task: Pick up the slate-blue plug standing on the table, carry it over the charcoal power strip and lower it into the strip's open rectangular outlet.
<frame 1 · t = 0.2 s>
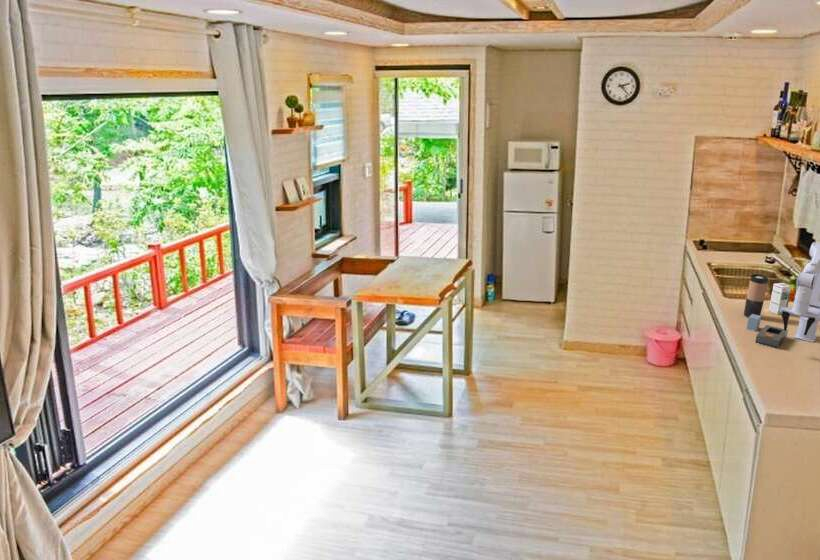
hand: (795, 332, 303), 10 cm above the worktop, tool pointing down, fingers open, 7 cm apart
syrup box: (776, 312, 360), on the worktop
travel mug: (751, 316, 352), on the worktop
plug: (752, 328, 335), on the worktop
power strip: (770, 340, 321), on the worktop
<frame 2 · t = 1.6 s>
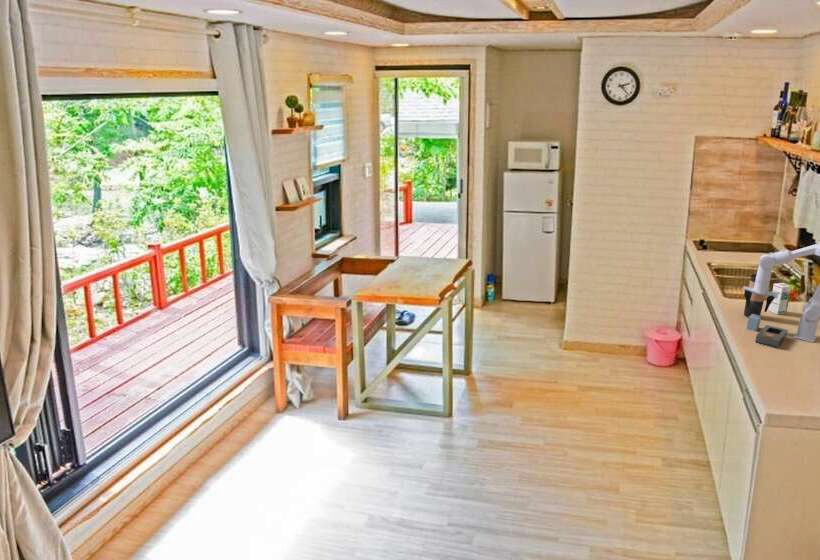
hand: (756, 309, 332), 9 cm above the worktop, tool pointing down, fingers open, 7 cm apart
nothing on the worktop moved.
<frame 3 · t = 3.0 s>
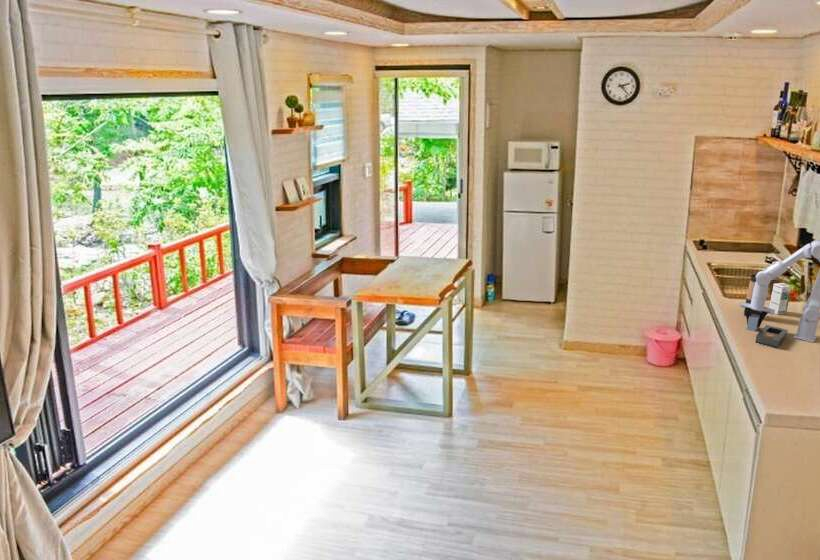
hand: (753, 325, 334), 2 cm above the worktop, tool pointing down, fingers closed on plug, 4 cm apart
plug: (752, 328, 335), on the worktop, touching gripper
everything else where it was.
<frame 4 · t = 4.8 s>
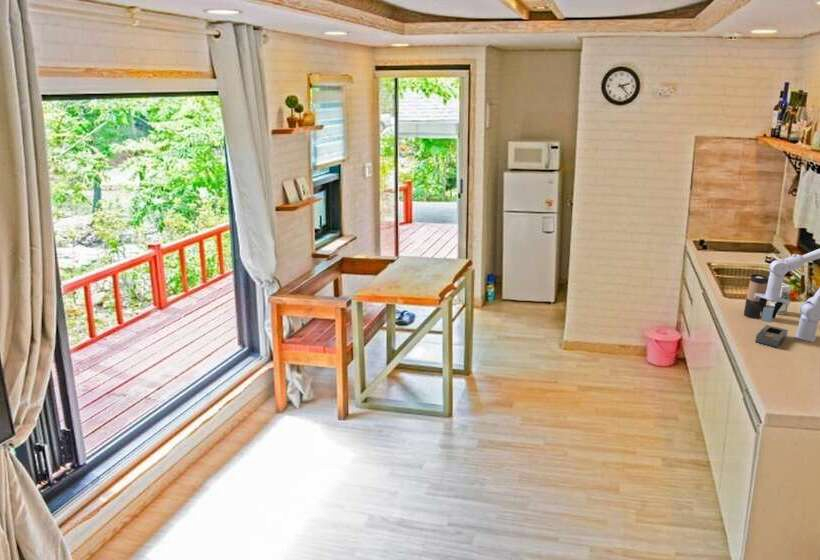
hand: (768, 316, 326), 9 cm above the worktop, tool pointing down, fingers closed on plug, 4 cm apart
plug: (767, 319, 326), point 7 cm above the worktop, touching gripper
everything else where it was.
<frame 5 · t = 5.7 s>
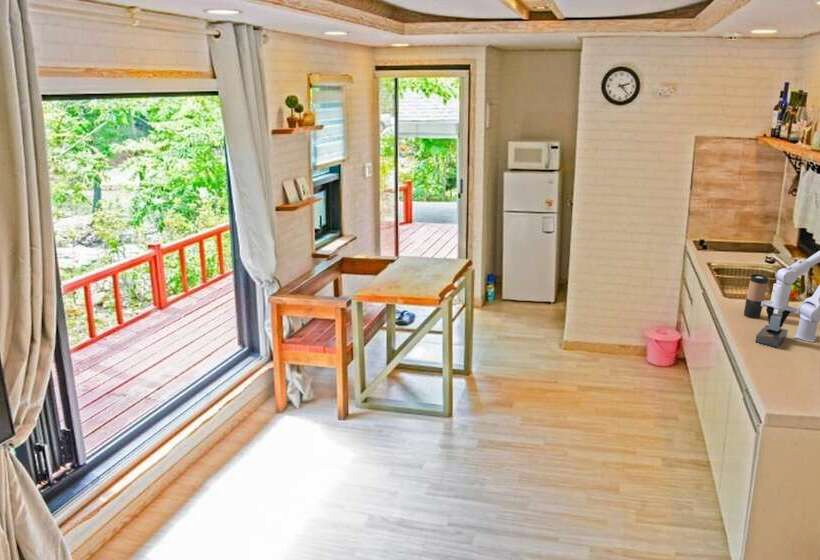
hand: (775, 325, 322), 6 cm above the worktop, tool pointing down, fingers closed on plug, 4 cm apart
plug: (774, 328, 322), point 5 cm above the worktop, touching gripper
everything else where it was.
when the fingers open (4 cm above the worktop, at t = 6.5 s): plug drops 2 cm, resting on power strip.
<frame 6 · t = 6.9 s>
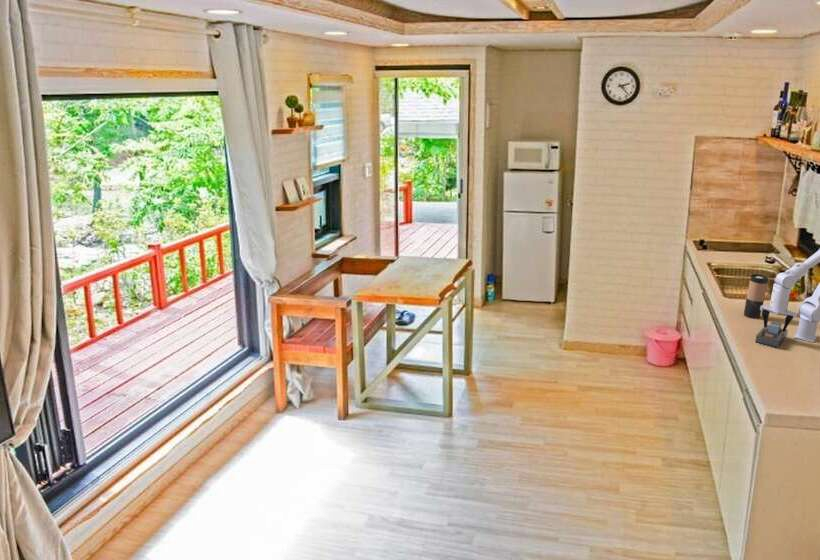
hand: (774, 329, 322), 4 cm above the worktop, tool pointing down, fingers open, 7 cm apart
plug: (772, 336, 323), point 1 cm above the worktop, touching power strip
everything else where it was.
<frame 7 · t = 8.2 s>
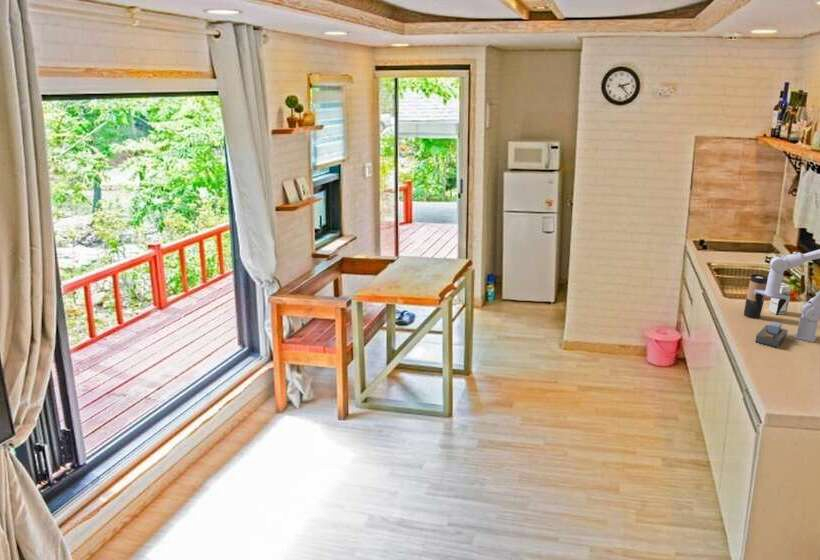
hand: (767, 312, 328), 9 cm above the worktop, tool pointing down, fingers open, 7 cm apart
nothing on the worktop moved.
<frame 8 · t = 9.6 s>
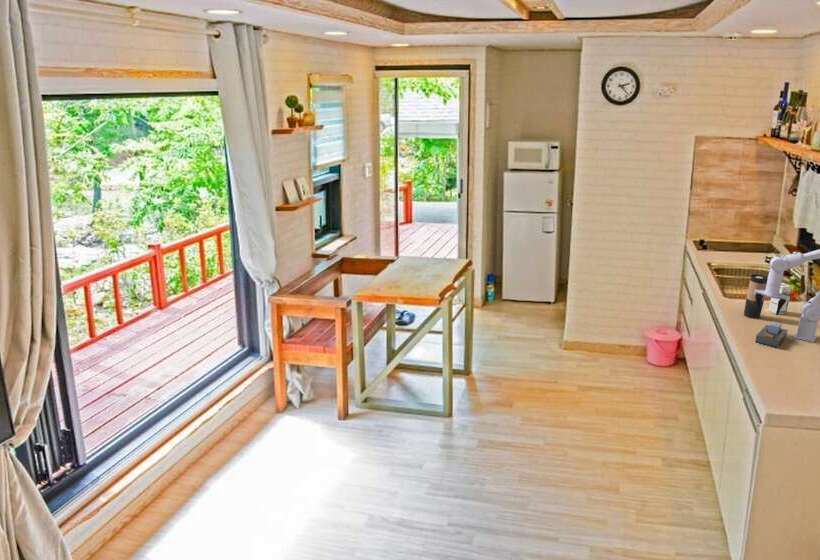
hand: (767, 312, 328), 9 cm above the worktop, tool pointing down, fingers open, 7 cm apart
nothing on the worktop moved.
at the end: plug 0.1 cm from the target spot on the power strip, point 0.8 cm above the power strip's base; plug tilted 0°; the gripper is holding nothing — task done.
